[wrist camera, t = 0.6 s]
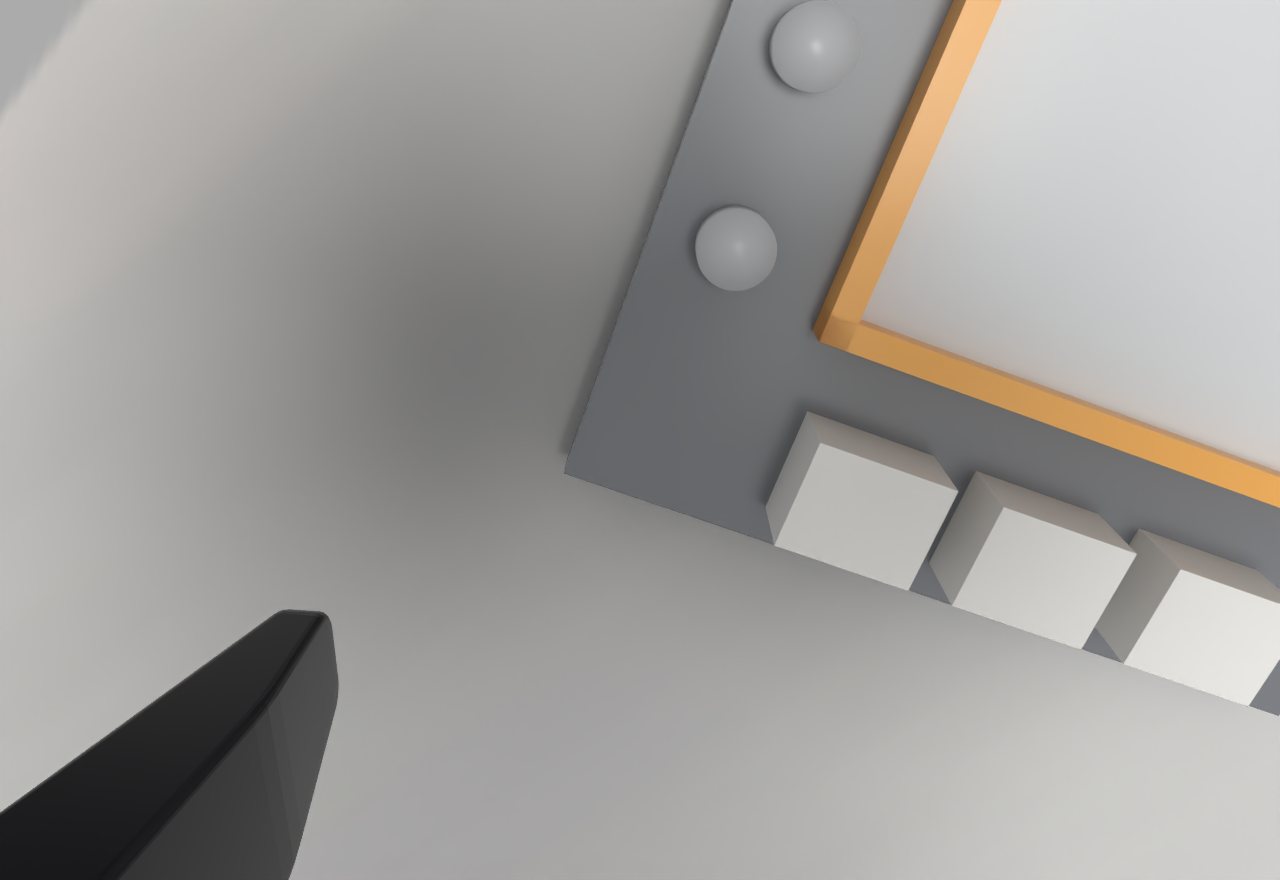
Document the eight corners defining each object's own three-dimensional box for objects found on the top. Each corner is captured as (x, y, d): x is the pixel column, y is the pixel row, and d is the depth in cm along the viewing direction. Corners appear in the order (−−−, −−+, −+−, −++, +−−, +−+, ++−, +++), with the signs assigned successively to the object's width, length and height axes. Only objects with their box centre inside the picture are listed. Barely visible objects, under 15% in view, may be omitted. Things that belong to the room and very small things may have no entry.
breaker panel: (1255, 692, 25) (1329, 769, 23) (567, 457, 24) (554, 509, 21) (1759, -66, 20) (1944, -89, 17) (892, -449, 18) (934, -547, 15)
